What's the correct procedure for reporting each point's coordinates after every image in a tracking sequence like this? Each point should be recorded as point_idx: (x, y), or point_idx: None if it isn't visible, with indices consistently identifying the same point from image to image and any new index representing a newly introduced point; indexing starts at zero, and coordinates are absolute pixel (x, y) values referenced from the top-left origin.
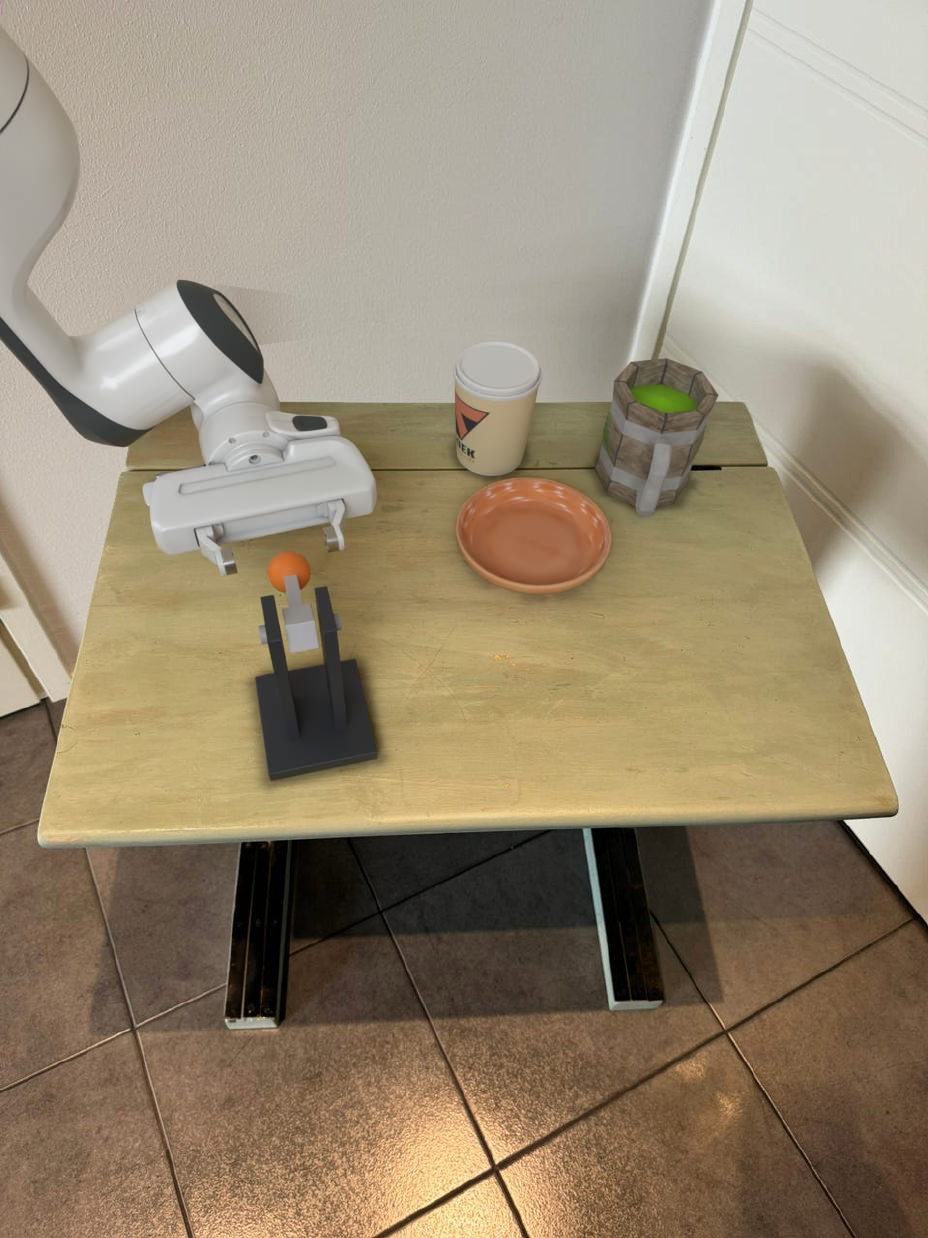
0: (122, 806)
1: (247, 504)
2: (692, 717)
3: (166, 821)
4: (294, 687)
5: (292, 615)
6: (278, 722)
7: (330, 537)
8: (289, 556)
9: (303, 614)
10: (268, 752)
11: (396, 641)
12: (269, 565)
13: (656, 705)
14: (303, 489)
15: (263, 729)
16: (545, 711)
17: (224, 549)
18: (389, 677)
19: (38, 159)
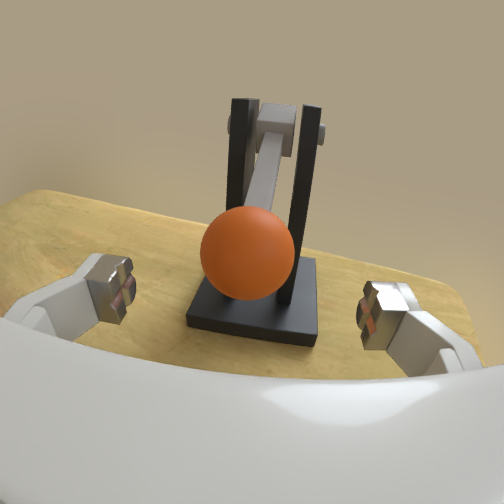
0: (421, 287)
1: (332, 411)
2: (37, 218)
3: (389, 271)
4: (272, 309)
5: (284, 112)
6: (299, 286)
7: (117, 256)
8: (243, 210)
9: (271, 110)
10: (313, 269)
11: (123, 332)
12: (289, 240)
13: (39, 226)
14: (35, 380)
15: (315, 285)
16: (85, 241)
17: (398, 307)
18: (161, 303)
19: None
